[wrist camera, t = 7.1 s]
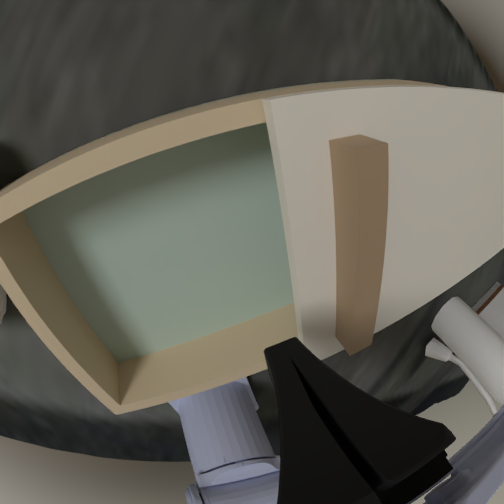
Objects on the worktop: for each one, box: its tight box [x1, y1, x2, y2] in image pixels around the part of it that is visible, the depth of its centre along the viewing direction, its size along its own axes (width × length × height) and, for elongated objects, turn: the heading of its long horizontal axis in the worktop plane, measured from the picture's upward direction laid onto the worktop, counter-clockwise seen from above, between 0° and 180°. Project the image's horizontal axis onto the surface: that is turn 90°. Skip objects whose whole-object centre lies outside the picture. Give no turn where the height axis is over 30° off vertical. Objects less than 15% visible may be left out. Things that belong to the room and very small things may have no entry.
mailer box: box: [0, 79, 448, 415], centre depth 17 cm, size 16×26×5 cm, turn 102°
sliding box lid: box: [262, 85, 504, 360], centre depth 16 cm, size 16×26×3 cm, turn 102°
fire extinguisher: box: [425, 297, 504, 416], centre depth 27 cm, size 7×12×25 cm, turn 152°
